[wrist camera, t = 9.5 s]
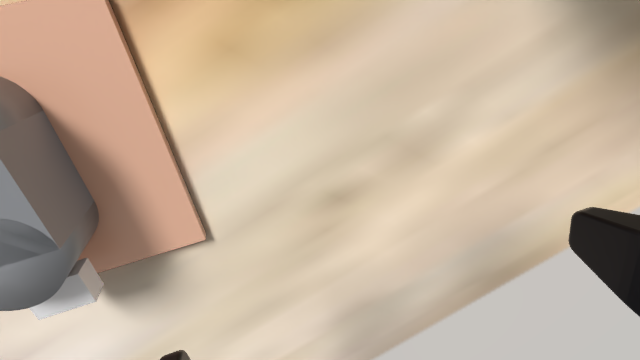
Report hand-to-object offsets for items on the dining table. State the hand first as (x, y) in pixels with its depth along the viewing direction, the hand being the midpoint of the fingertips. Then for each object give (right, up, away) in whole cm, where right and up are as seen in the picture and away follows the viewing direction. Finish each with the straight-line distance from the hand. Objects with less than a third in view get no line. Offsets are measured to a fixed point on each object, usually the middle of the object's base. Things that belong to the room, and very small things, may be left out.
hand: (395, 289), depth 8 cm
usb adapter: (-15, +3, +8) cm, 17 cm away
